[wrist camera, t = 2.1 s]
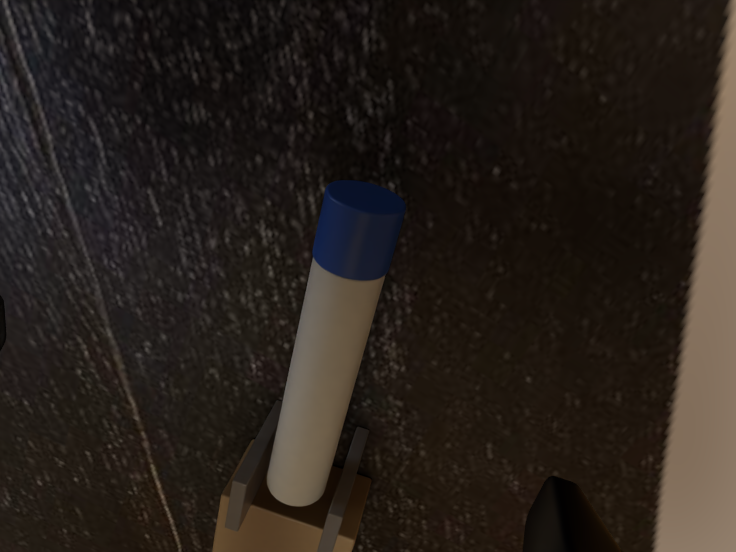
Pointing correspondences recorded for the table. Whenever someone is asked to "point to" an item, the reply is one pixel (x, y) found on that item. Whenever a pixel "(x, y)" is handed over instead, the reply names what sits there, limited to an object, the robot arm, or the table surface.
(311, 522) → the tan block with prongs
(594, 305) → the table surface
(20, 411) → the table surface
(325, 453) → the marker
